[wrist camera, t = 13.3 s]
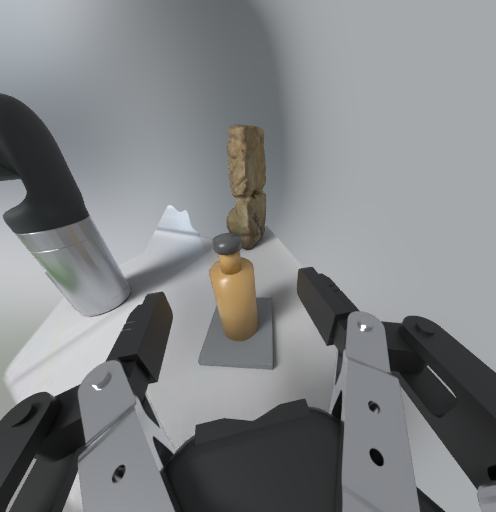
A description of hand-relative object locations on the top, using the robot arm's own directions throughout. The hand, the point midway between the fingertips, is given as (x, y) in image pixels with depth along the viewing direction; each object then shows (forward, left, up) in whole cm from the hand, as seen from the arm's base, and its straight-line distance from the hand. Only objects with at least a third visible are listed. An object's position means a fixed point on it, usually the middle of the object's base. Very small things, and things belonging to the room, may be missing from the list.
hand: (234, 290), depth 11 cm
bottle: (-3, +10, -16) cm, 20 cm away
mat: (-3, +10, -18) cm, 21 cm away
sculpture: (-5, +42, -18) cm, 46 cm away
